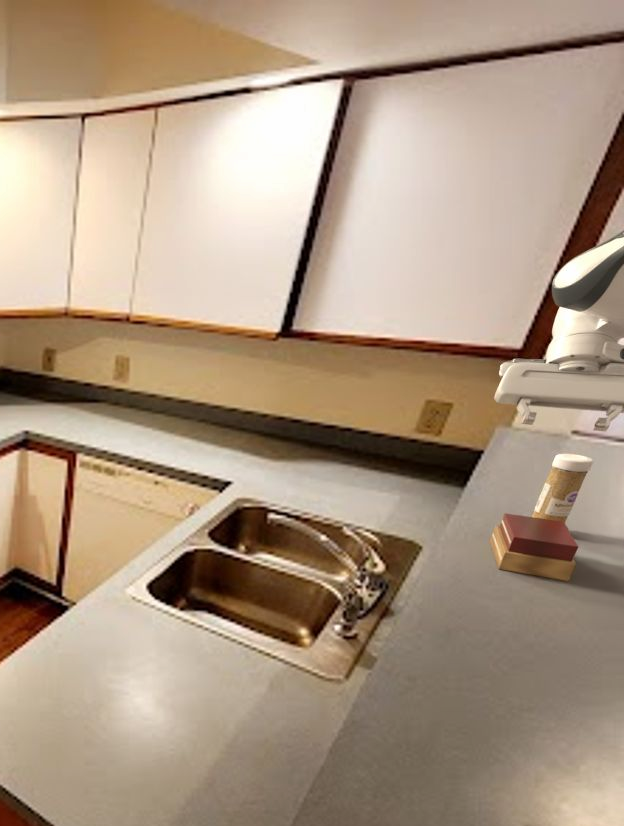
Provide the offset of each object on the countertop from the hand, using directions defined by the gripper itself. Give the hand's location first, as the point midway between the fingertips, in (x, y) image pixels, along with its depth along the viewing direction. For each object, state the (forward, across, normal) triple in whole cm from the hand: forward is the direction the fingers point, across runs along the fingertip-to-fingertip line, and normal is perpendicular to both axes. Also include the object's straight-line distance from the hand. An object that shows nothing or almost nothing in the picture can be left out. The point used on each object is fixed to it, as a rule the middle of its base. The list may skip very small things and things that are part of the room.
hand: (563, 426), depth 111 cm
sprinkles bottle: (+19, +1, +4) cm, 19 cm away
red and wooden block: (+30, -2, -8) cm, 31 cm away
